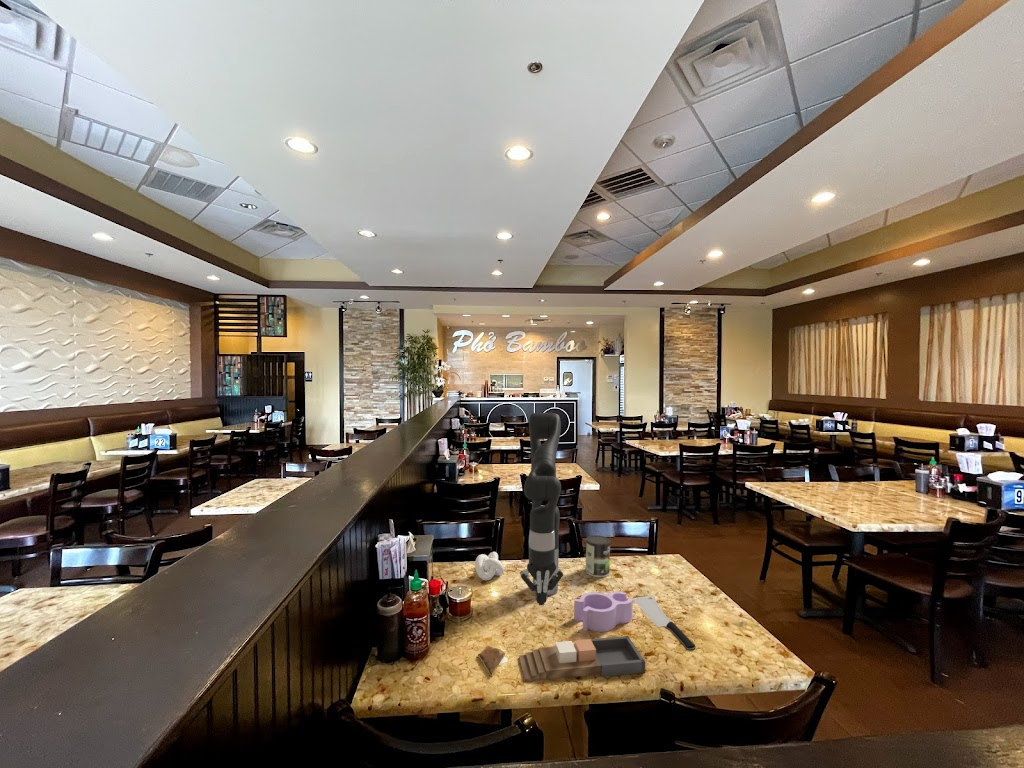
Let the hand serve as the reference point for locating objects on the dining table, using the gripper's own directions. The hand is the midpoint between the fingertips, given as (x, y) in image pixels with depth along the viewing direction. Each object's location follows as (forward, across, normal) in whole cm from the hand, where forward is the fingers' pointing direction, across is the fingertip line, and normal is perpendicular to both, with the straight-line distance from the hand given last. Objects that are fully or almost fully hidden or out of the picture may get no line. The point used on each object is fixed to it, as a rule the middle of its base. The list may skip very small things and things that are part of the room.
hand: (541, 603), depth 124 cm
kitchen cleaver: (+20, +46, +17) cm, 53 cm away
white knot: (+19, -10, +58) cm, 62 cm away
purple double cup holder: (+19, +27, +21) cm, 39 cm away
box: (+19, +22, 0) cm, 29 cm away
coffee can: (+19, +37, +56) cm, 69 cm away
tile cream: (+16, +8, 0) cm, 18 cm away
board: (+19, +8, 0) cm, 21 cm away
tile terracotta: (+16, +13, 0) cm, 21 cm away
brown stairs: (+19, -2, 0) cm, 19 cm away
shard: (+20, -13, +4) cm, 24 cm away
